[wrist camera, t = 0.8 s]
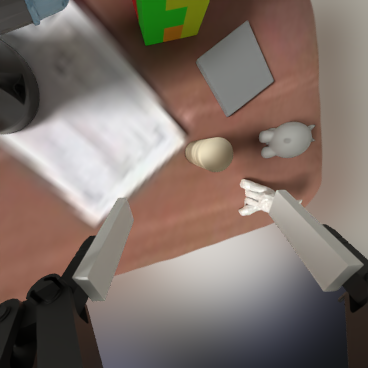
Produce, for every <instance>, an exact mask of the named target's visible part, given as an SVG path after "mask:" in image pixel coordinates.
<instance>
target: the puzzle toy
mask: <svg viewBox="0 0 368 368" xmlns="http://www.w3.org/2000/svg"><path fill="white" fill-rule="evenodd" d="M132 1H133V5H134V8H135V12H136V15H137V18H138V22H139V25H140V29H141V32H142V36H143V39H144V42H145V46H148V45H152V44H157V43H161V42H166V41H171V40H175V39H180V38H184V37H189V36H193V35H197V34H198V31H199V28H200V25H201V23H202V20H203V17H204V15H205V12H206V9H207V7H208V4H209V1H210V0H132Z"/></svg>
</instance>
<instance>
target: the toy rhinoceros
mask: <svg viewBox="0 0 368 368" xmlns="http://www.w3.org/2000/svg"><path fill="white" fill-rule="evenodd" d="M314 127H315V125H309V126H306V125H305V124H303V123H300V122H287V123H284V124H282V125H280V126H279V127H277V128H270V129H268V130H266V131H262V132H261V133H260V135H259V141H260V142H261V143H266V145H268V144H269V145H268V147H264V148H263V149H262V151H261V155H262V157H264V158H271V157H273V156H276V155H277V156H279V157H283V158H292V157H295V156H298V155H300V154H302V153H303V152H304V151H305V150H306V149H307V148H308V147H309V145H310V143H311V142H312V141H315V140H314V139H313V138H312V134H311V129H312V128H314Z"/></svg>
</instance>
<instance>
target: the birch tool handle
mask: <svg viewBox="0 0 368 368" xmlns="http://www.w3.org/2000/svg"><path fill="white" fill-rule="evenodd" d="M185 157H186V159H187V160H188V161H189V162H190V163H192V164H195V165H197V166H200V167H202V168H204V169H207V170H209V171H212V172H220V171H223V170H225V169H226V168H227V167H228V166H229V165H230V163H231V161H232V159H233V149H232V146H231V144H230V143H229V142H228V141H227V140H226V139H224V138H221V137H215V138H210V139H204V140H198V141H193V142H191V143H189V144H188V145H187V147H186V149H185Z"/></svg>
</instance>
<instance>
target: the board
mask: <svg viewBox="0 0 368 368" xmlns="http://www.w3.org/2000/svg"><path fill="white" fill-rule="evenodd" d="M196 64H197V66H198V68H199V69H200V71H201V73H202V75H203V76H204V78H205V80H206V82H207V83H208V85H209V87H210V89H211V90H212V92H213V94H214V96H215V97H216V99H217V101H218V103H219V104H220V106H221V108H222V110H223V111H224V113H225V115H226V117H228V116H230V115H231V114H232V113H234V112H235V111H236V110H238V109H239V108H240V107H241V106H243V105H244V104H245V103H246V102H248V101H249V100H250V99H252V98H253V97H254V96H255V95H257V94H258V93H259V92H261V91H262V90H263V89H264V88H266V87H267V86H268V85H269V84H271V83H272V82H273V81H274V80H273V78H272V75H271V73H270V71H269V69H268V66H267V64H266V62H265V59H264V57H263V55H262V52H261V50H260V48H259V45H258V43H257V41H256V39H255V36H254V34H253V32H252V29H251V27H250V25H249V22H248V20H247V21H246V22H244V23H243V24H242V25H241V26H239V27H238V28H237V29H235V30H234V31H233V32H232V33H230V34H229V35H228V36H226V37H225V38H224V39H223V40H221V41H220V42H219V43H217V44H216V45H215V46H214V47H212V48H211V49H210V50H209V51H207V52H206V53H205V54H203V55H202V56H201V57H200V58H198V59H197V61H196Z"/></svg>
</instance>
